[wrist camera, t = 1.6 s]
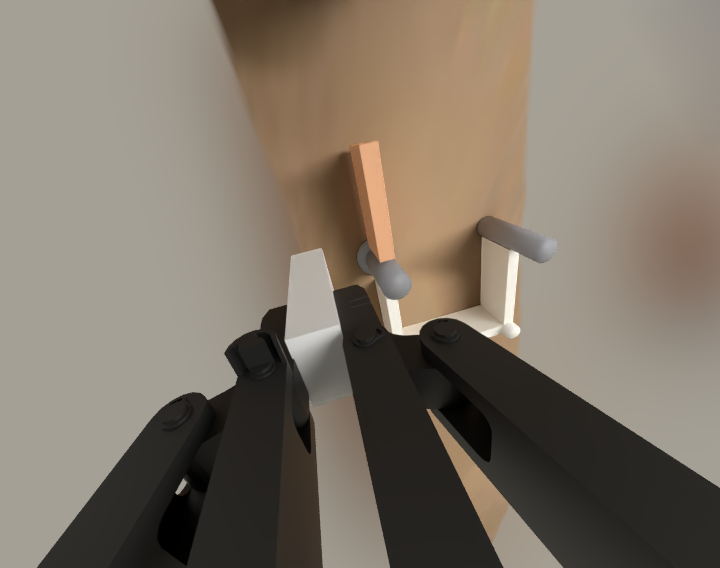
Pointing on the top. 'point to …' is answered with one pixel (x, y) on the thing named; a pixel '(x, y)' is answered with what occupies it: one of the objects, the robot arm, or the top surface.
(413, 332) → the paddock fence
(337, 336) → the robot arm
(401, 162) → the top surface
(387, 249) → the gate
